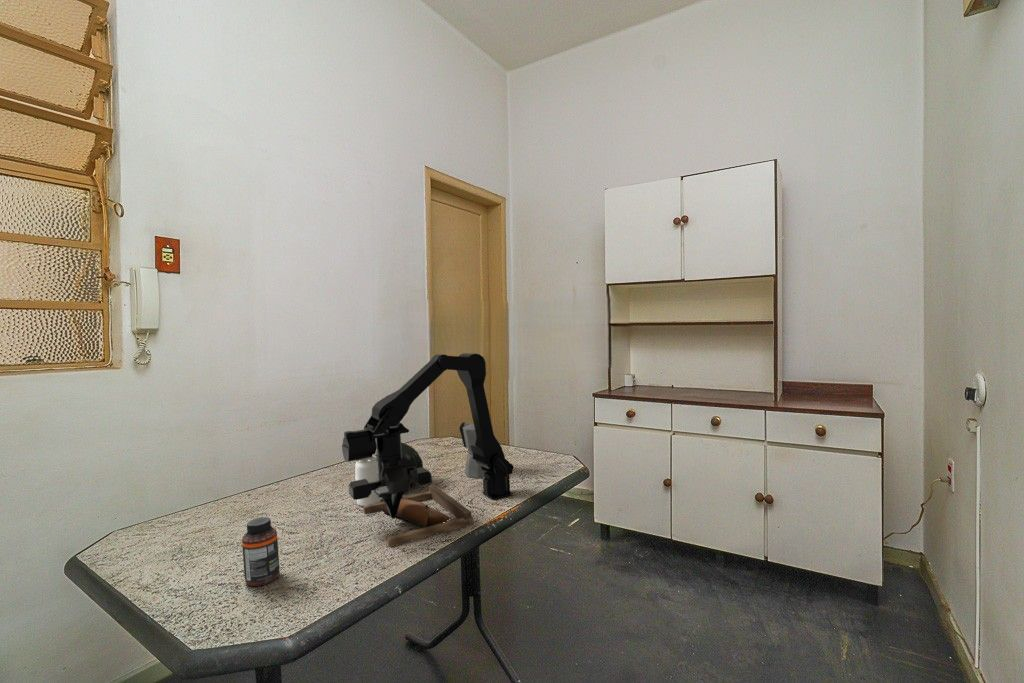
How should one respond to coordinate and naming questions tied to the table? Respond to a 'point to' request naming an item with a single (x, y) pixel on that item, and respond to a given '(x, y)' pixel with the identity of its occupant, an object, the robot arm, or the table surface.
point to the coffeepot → (470, 451)
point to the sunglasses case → (419, 513)
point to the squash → (410, 457)
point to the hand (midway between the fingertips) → (393, 517)
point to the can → (367, 478)
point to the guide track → (450, 505)
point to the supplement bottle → (260, 552)
